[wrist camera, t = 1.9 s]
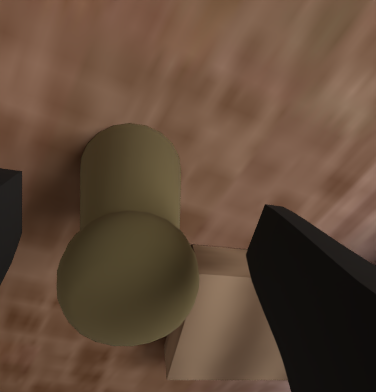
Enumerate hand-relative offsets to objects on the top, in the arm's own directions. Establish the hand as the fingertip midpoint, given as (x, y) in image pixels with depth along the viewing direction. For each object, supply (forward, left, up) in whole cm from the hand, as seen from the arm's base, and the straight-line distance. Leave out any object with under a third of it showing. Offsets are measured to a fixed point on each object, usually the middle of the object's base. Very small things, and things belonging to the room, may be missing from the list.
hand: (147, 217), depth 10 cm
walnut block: (-10, +14, -10) cm, 20 cm away
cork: (0, +3, -11) cm, 11 cm away
